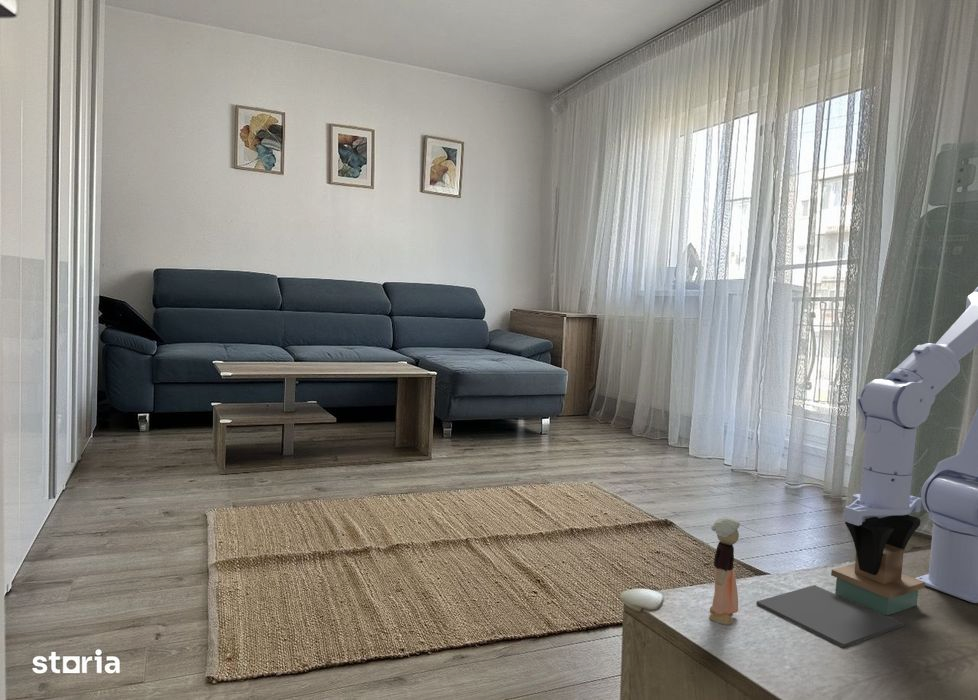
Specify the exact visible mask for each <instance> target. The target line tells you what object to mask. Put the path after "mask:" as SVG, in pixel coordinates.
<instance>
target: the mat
mask: <svg viewBox="0 0 978 700" xmlns="http://www.w3.org/2000/svg"><path fill="white" fill-rule="evenodd" d="M755 604H756V605H757V606H759V607H761V608H763V609H764V610H767V611H769V612H771V613H773V614H775V615H777V616H778V617H780V618H784V619H785V620H787V621H789V622H790V623H793V624H795V625H797V626H799V627H801V628H804V629H806V630H807V631H810V632H811V633H813V634H815V635H817V636H819V637H821V638H823V639H825V640H828V641H830V642H831V643H834V644H835V645H837V646H839V647H842V648H846V647H848V646H851V645H855V644H856V643H859V642H863V641H865V640H868V639H871V638H874V637H876V636H878V635H879V636H880V635H881V634H884V633H888V632H890V631H892V630H895V629H898V628H900V627H903V622H901V621H899V620H897V619H894V618H892V617H890V616H889V615H887V616H886V615H884V614H881V613H879V612H877V611H874V610H872V609H870V608H867V607H865V606H863V605H860V604H858V603H856V602H853V601H851V600H849V599H846V598H844V597H842V596H839V595H837V594H835V592H834V593H833V592H832V591H829V590H826V589H825V588H822V587H820V586H817V585H816V584H813V585H810V586H807V587H806V586H805V587H803V588H799V589H796V590H792V591H789V592H785V593H781V594H778V595H774V596H771V597H768V598H764V599H760V600H757V601H756V603H755Z"/></svg>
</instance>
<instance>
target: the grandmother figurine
mask: <svg viewBox="0 0 978 700" xmlns="http://www.w3.org/2000/svg"><path fill="white" fill-rule="evenodd" d="M740 524H741V523H740V521H739V519H737V518H736V517H733V516H730V515H723V516H721V517H719V518H718V519H716V520H715V522H714V523H713V525H711V527H710V528H711V531H713V532H715V533H716V537H717V539H718V541H719V542H718V543H717V547H716V549H715V554H714V560H713V565H714V570H713V579H714V581H713V582H714V595H713V600H712V603H711V607H710V608H709V611H710V614H709V617H708V619H710V620H711V621H713V622H717V623H718V624H721V625H726V626H729V625H732V624H733V621H734V620H733V618H732V616H733V615H734V614H736V613H737V612H739V595H738V593H739V592H738V586H737V579H736V574H735V569H734V560H735V555H734V552H735V547H734V545H735V544H736V543H738V540H739V536H740V535H739V533H740V532H739V530H738V529H739V528H740V526H741V525H740Z"/></svg>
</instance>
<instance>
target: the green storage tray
mask: <svg viewBox="0 0 978 700" xmlns="http://www.w3.org/2000/svg"><path fill="white" fill-rule="evenodd" d="M835 580H836V583H835V591H834V594H836V595H839V596H841V597H843V598H846V599H848V600H850V601H853V602H855V603H857V604H860V605H862V606H864V607H867V608H869V609H871V610H874V611H876V612H878V613H881V614H883V615H885V616H891V615H893V614H895V613H898V612H902V611H904V610H907V609H910V608H913V607H916V606H917V605H918V598H919V597H918V596H919V590H916V591H913V592H910V593H907V594H904V595H901V596H898V597H895V598H892V599H888V598H886V597H883V596H881V595H879V594H876V593H874V592H871V591H869V590H866V589H864V588H861V587H859V586H856V585H854V584H851V583H849V582H846V581H844V580H841V579H839V578H837V577H836V579H835Z"/></svg>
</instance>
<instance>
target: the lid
mask: <svg viewBox="0 0 978 700" xmlns="http://www.w3.org/2000/svg"><path fill="white" fill-rule="evenodd" d="M904 551H905V550H903V549H900V548H897V547H894V546H891V545H888V544H886V545H885V547H884V550H883V555H882V560H881V565H880V568H879V571H878V573H877V575H872V574H869V573H867V572H864V571H861V570H860V569H859V564H858V559H857V553H856V552H855V561H854V563H851V564H847V565H844V566H840V567H836V568H832V569H831V571H830V572H831V573H830V576H832V577H834V578H836V579H837V578H839V579H841V580H844V581H846V582H849V583H851V584H854V585H856V586H859V587H861V588H864V589H866V590H869V591H871V592H874V593H876V594H879V595H881V596H883V597H886V598H888V599H892V598H895V597H898V596H901V595H904V594H907V593H910V592H913V591H916V590H918V591H919V590H922V589H925V587H926V585H925V582H924V581H921V580H918V579H916V578H917V577H912V576H911V575H907V574H905V573H903V572H902V571H903V563H904V562H903V561H904V553H905V552H904Z"/></svg>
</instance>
